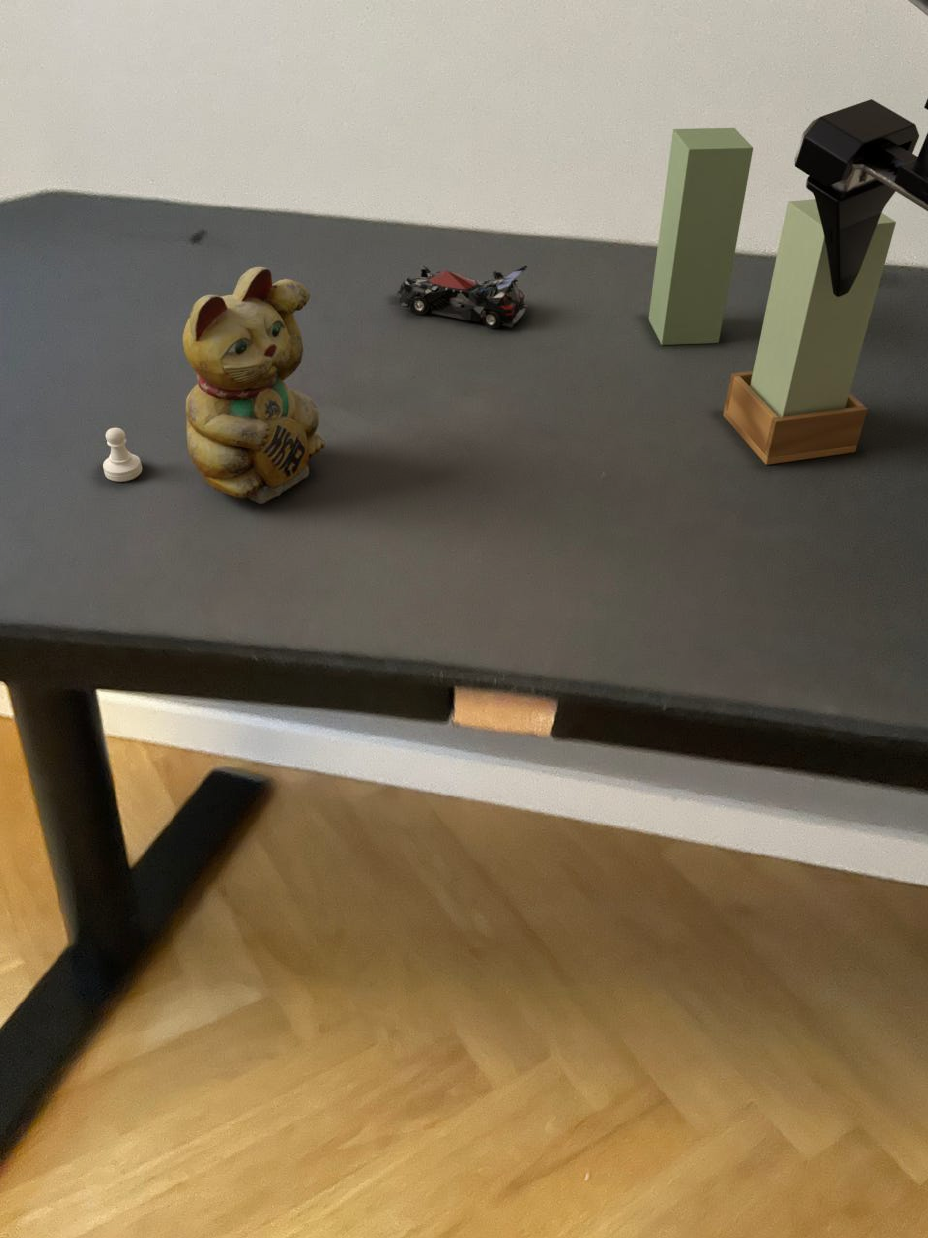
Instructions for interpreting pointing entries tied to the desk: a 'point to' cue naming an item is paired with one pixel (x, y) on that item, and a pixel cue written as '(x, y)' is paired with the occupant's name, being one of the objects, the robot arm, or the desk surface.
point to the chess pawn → (120, 458)
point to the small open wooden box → (791, 426)
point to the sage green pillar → (814, 318)
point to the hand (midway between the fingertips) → (896, 333)
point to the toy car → (465, 297)
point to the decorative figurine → (249, 389)
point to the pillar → (698, 233)
